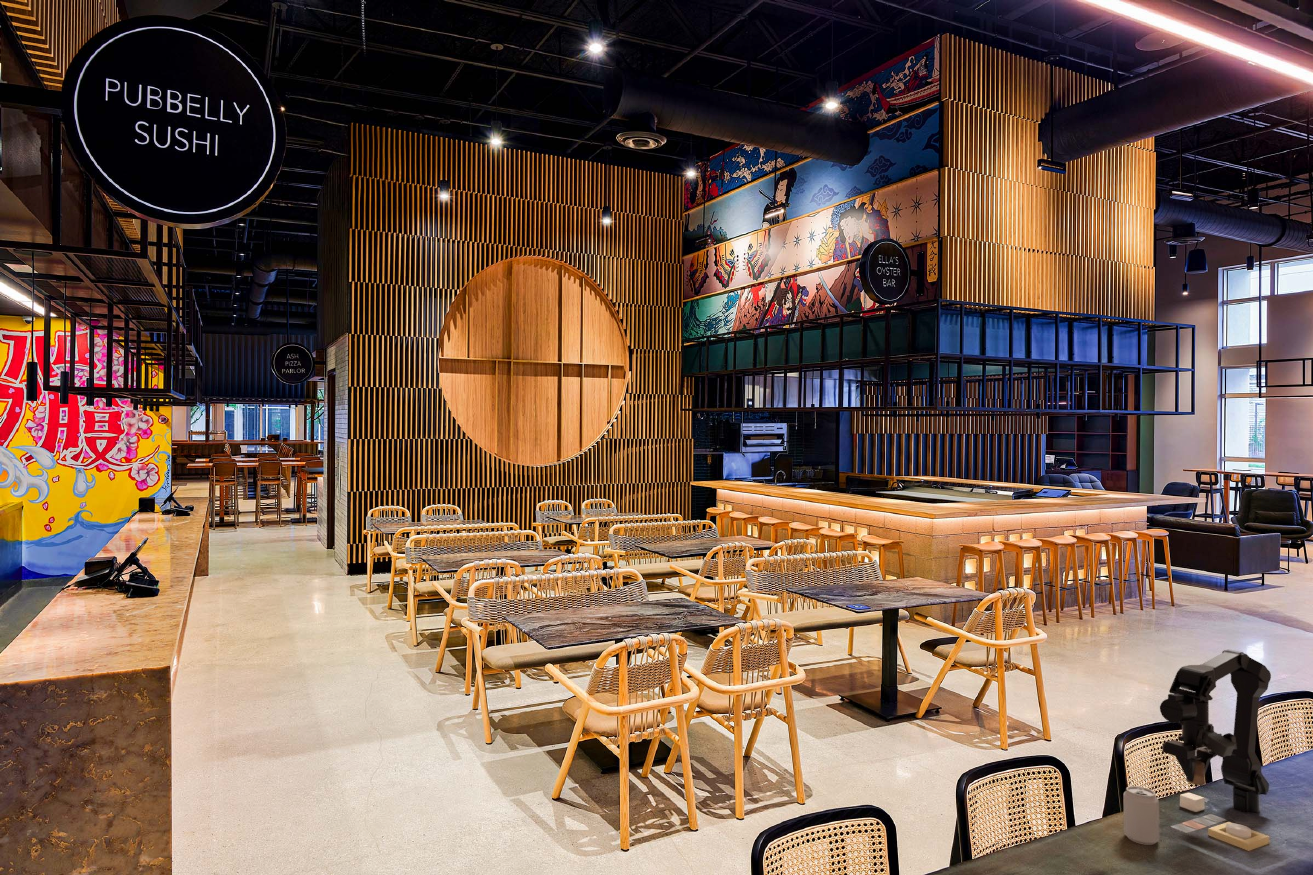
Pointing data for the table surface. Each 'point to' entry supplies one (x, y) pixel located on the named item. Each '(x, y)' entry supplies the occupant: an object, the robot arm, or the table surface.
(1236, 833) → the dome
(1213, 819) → the makeup compact
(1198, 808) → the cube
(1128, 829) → the can
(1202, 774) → the brown capsule
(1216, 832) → the box
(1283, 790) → the table surface
